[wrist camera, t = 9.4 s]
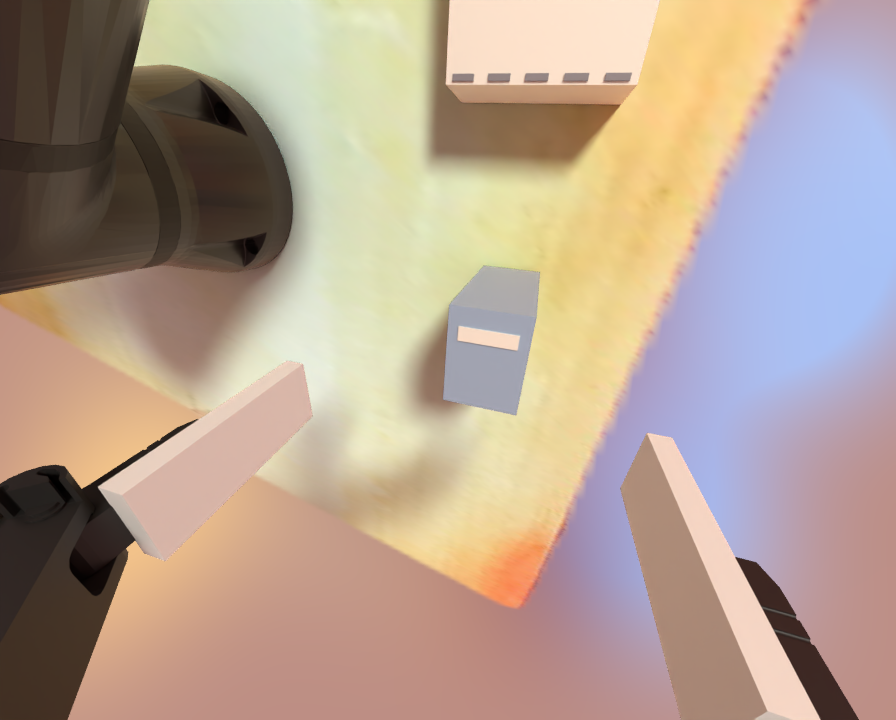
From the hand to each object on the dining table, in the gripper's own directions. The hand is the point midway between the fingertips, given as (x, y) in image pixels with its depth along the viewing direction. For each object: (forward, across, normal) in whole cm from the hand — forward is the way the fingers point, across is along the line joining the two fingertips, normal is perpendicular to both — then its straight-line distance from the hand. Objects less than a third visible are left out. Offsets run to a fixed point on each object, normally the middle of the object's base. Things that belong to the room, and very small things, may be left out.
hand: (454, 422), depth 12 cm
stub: (+17, 0, 0) cm, 17 cm away
